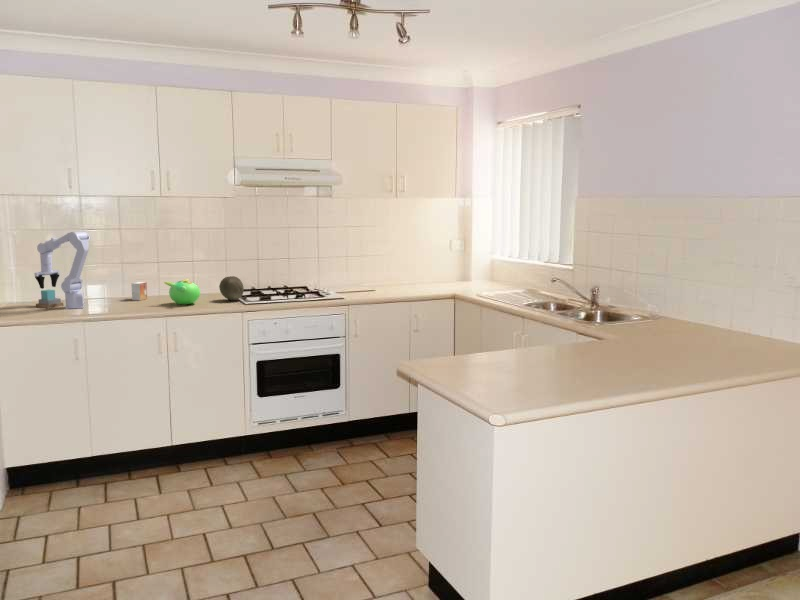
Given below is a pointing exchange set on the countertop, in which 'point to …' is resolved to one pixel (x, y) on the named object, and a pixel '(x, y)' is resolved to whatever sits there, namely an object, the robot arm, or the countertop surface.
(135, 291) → the small box
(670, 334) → the countertop surface
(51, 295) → the teal block
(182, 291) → the toy bird
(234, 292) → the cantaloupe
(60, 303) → the walnut base slab
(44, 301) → the grey top slab
